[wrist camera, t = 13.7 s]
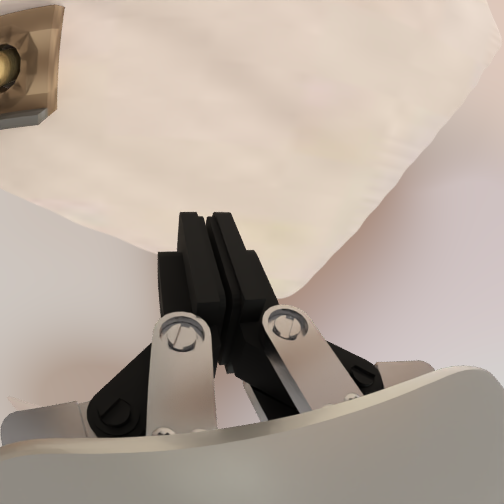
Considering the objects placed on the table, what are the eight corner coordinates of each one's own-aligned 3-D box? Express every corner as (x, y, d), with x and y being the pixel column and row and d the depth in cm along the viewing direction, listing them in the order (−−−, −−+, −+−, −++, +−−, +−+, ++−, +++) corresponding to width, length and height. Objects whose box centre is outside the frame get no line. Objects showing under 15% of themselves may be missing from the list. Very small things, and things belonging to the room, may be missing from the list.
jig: (-25, 26, 16) (-54, 30, 12) (64, 7, 20) (45, 2, 15) (-26, 120, 23) (-53, 139, 19) (57, 109, 27) (38, 124, 22)
